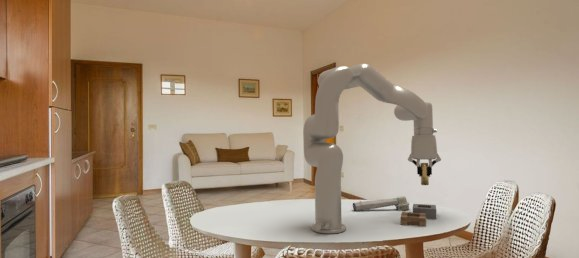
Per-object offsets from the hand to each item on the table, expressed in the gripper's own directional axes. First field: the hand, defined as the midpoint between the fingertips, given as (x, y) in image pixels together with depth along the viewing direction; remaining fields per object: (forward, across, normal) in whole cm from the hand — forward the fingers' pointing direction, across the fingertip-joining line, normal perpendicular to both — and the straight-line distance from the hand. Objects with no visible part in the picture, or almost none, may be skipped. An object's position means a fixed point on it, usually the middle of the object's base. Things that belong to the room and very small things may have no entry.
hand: (424, 175), depth 153 cm
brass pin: (+4, 0, 0) cm, 4 cm away
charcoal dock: (+17, 0, 0) cm, 17 cm away
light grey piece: (+17, +19, -6) cm, 26 cm away
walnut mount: (+16, +4, +14) cm, 22 cm away
